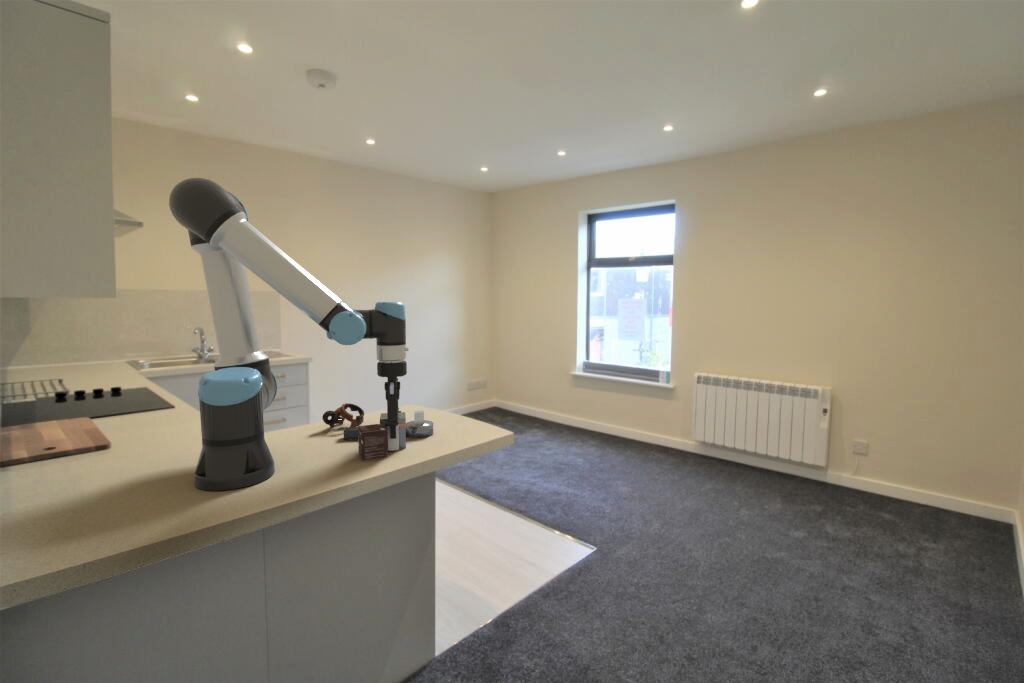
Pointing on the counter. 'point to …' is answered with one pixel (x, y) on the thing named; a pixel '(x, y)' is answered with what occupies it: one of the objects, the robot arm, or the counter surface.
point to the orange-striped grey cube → (400, 424)
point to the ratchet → (413, 428)
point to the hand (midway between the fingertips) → (394, 444)
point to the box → (372, 442)
